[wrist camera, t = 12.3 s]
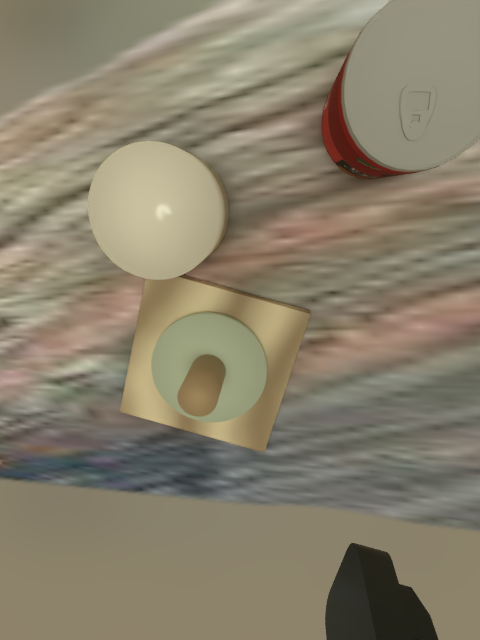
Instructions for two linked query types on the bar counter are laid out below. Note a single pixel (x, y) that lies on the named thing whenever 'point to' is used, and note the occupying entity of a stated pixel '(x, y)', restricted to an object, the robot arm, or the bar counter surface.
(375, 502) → the bar counter surface
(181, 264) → the crock
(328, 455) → the bar counter surface
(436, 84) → the canned food
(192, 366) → the lid
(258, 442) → the mat
